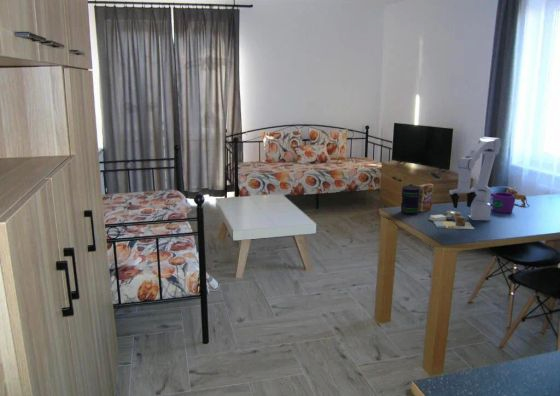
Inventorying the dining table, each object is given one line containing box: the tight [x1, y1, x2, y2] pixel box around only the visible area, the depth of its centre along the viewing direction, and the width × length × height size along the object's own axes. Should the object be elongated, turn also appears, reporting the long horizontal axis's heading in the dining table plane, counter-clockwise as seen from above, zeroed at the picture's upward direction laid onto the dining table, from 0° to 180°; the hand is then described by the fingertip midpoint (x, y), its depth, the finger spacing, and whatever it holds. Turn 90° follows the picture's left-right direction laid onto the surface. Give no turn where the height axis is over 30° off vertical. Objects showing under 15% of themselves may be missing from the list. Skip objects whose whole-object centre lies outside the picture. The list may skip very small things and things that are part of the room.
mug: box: [490, 191, 516, 214], centre depth 269 cm, size 17×11×10 cm, turn 35°
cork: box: [453, 211, 462, 222], centre depth 250 cm, size 3×3×4 cm
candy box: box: [417, 182, 434, 213], centre depth 270 cm, size 9×4×15 cm, turn 123°
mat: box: [432, 220, 475, 230], centre depth 243 cm, size 18×11×1 cm, turn 83°
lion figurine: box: [505, 187, 530, 207], centre depth 282 cm, size 15×5×9 cm, turn 38°
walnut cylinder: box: [456, 215, 466, 226], centre depth 242 cm, size 4×4×4 cm
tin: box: [444, 210, 457, 221], centre depth 256 cm, size 6×6×4 cm
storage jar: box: [400, 185, 420, 217], centre depth 264 cm, size 10×10×15 cm
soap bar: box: [429, 214, 447, 222], centre depth 253 cm, size 7×4×2 cm, turn 107°
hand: (461, 207), depth 241 cm, fingers open, 7 cm apart
